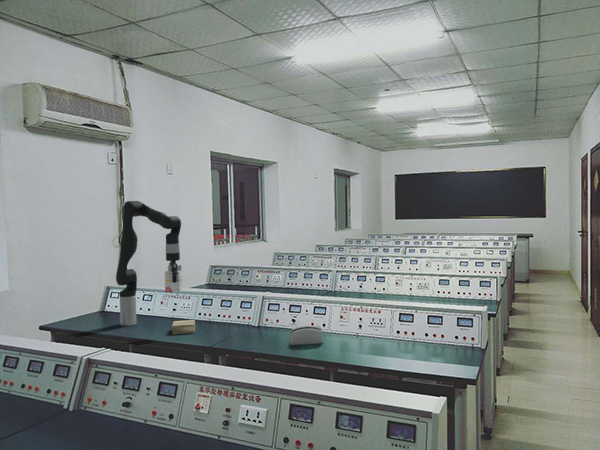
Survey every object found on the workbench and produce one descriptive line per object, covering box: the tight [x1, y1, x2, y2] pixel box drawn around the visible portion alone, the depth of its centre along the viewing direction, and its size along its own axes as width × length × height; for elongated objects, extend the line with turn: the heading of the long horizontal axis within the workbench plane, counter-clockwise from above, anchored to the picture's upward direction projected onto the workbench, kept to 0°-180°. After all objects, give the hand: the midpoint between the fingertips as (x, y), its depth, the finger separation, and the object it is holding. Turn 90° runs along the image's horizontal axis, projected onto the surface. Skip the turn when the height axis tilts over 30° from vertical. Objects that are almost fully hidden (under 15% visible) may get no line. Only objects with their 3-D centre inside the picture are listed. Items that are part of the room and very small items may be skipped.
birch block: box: [171, 319, 196, 335], centre depth 274 cm, size 12×12×5 cm
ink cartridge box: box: [164, 264, 183, 293], centre depth 272 cm, size 9×5×15 cm, turn 84°
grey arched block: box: [289, 325, 324, 346], centre depth 242 cm, size 17×5×10 cm, turn 97°
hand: (173, 281), depth 272 cm, fingers closed on ink cartridge box, 6 cm apart
